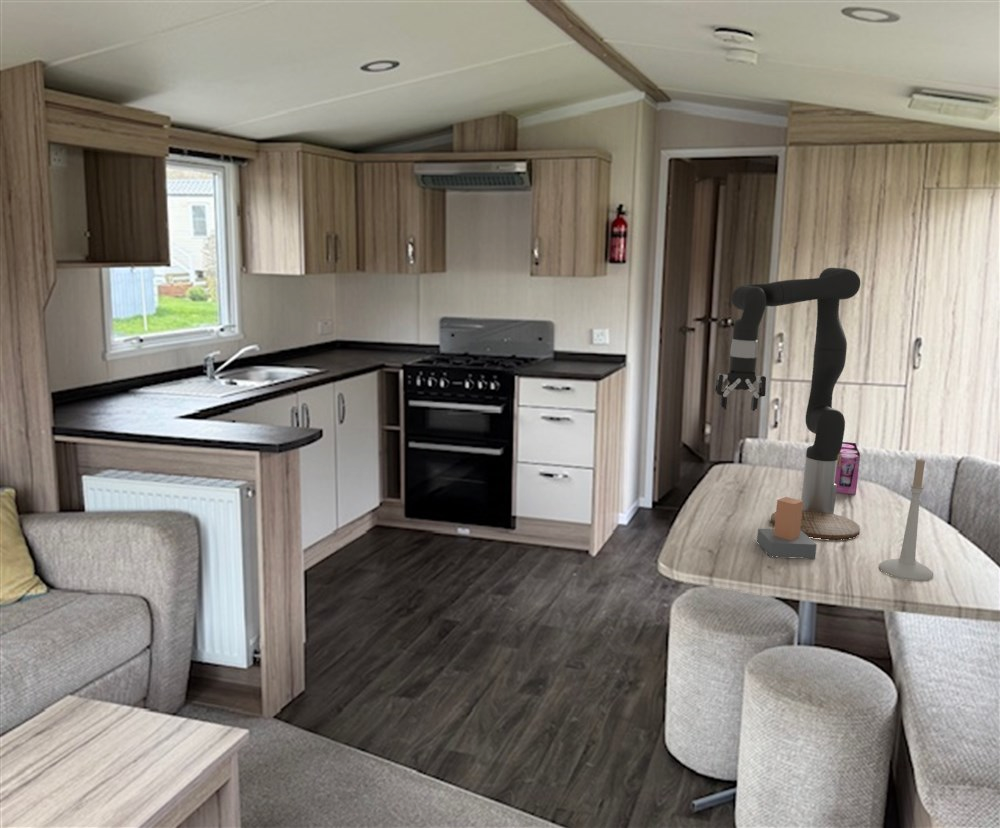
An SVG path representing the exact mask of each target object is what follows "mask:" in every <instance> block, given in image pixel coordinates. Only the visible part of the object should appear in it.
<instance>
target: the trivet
mask: <svg viewBox="0 0 1000 828" xmlns="http://www.w3.org/2000/svg"><path fill="white" fill-rule="evenodd" d="M775 517H776V511H774V512H773V513H771V515H770V523H772V524H773V525H774V526H775ZM772 524H771V525H772ZM773 525H772V526H773ZM774 526H773V527H774ZM800 530H802V531H803V532H804V533H805V534H806V535H807V536H808V537H813V538H821V539H829V540H828V541H844V540H843V539H847V540H850V539H849V538H852V539H854V538H853V537H855V538H857V537H858V536H859V535H860V530H861V527H860V525H859V524H858V523H857V521H854V520H852V519H850V518H848V517H845V516H842V515H839V514H835V513H834V514H831V513H826V512H821V511H814V510H802V518H801V527H800ZM857 535H858V536H857ZM856 536H857V537H856ZM841 539H842V540H841Z"/></svg>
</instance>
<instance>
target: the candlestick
mask: <svg viewBox="0 0 1000 828" xmlns="http://www.w3.org/2000/svg"><path fill="white" fill-rule="evenodd" d="M925 463H926V460H925V459H922V458H918V459H916V460H915V468H914V474H913V475H914V476H913V480H912V481H913V483H910V484H909V486H910V488H911V489H910V492H911V495H912V497H911V498H910V504H909V509H908V515H907V520H906V524H905V528H904V529H905V530H904V535H903V539H902V540H903V541H902V546H901V549H900V555H899V557H898V558H888V559H886V560H883V561H882V562H880V563H879V564H878V569H879V568H880V569H881V570H882V571H883V572H882V571H881V570H880V569H879V570H880V571H881V572H882V573H884V572H885V573H884V574H886V573H887V574H886V575H888V574H889V575H888V576H890V575H892V576H891V577H893V576H894V578H896V577H897V578H898V579H900V578H901V579H902V580H905V579H907V580H906V581H912V580H914V581H917V582H923V581H924V580H926V581H929V579H930V580H932V579H933V578H934V572H933V571H932V569H930V567H928V566H926V565H925V564H923V563H920V562H918V561H916V557H917V555H916V553H917V540H918V539H917V537H918V525H919V511H920V501H921V500H920V496H921V494H923V489H925V488H926V486H925V485H923V478H924V472H925V471H924V470H925ZM932 577H933V578H932ZM931 578H932V579H931Z"/></svg>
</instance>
